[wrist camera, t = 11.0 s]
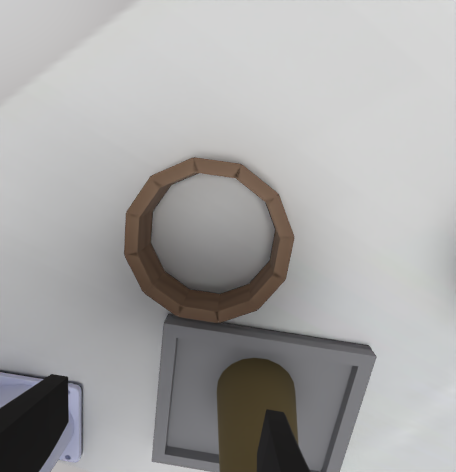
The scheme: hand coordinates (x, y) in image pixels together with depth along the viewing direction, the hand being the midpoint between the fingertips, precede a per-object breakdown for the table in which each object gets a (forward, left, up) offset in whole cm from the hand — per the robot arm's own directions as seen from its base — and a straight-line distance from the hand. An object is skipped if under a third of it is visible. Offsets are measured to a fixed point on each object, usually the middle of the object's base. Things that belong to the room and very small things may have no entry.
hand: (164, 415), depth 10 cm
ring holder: (0, +4, -10) cm, 11 cm away
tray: (+5, -9, -10) cm, 15 cm away
